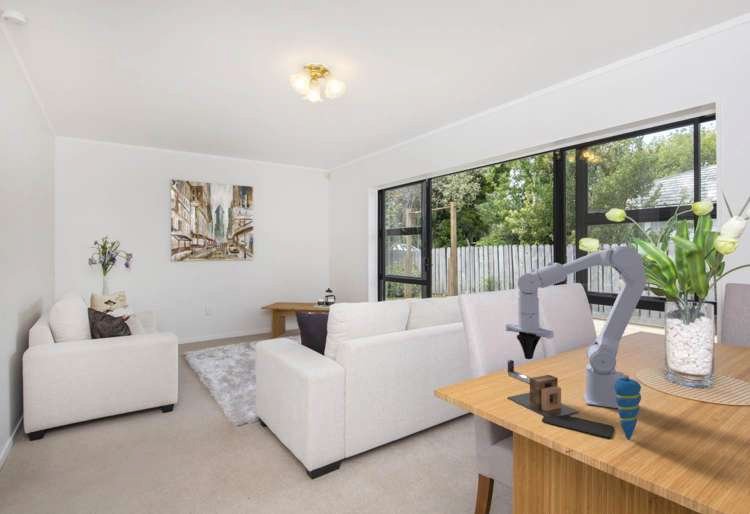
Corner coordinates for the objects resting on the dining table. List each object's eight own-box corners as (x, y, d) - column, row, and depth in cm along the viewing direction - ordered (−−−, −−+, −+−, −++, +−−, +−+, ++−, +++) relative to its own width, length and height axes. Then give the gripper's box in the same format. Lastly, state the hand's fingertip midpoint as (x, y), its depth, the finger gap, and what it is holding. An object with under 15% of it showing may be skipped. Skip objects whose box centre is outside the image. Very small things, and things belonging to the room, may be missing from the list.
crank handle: (544, 388, 107) (544, 371, 107) (539, 389, 106) (539, 372, 106) (511, 375, 119) (511, 359, 119) (506, 376, 118) (506, 360, 118)
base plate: (579, 412, 102) (579, 411, 102) (551, 419, 98) (551, 418, 98) (533, 393, 116) (533, 391, 116) (507, 398, 112) (507, 397, 112)
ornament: (645, 445, 85) (646, 377, 85) (619, 443, 86) (619, 375, 86) (634, 434, 90) (635, 369, 90) (610, 432, 91) (610, 368, 91)
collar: (561, 407, 104) (561, 387, 104) (546, 411, 102) (546, 390, 102) (556, 405, 106) (556, 385, 106) (541, 408, 104) (541, 388, 103)
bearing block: (557, 404, 106) (557, 377, 106) (538, 409, 103) (538, 381, 103) (548, 400, 109) (548, 374, 109) (529, 405, 106) (529, 378, 106)
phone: (548, 410, 102) (614, 425, 93) (548, 413, 102) (614, 429, 93) (540, 420, 97) (610, 437, 87) (540, 424, 97) (610, 441, 87)
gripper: (559, 314, 113) (559, 361, 113) (514, 309, 124) (515, 351, 125) (545, 317, 109) (546, 365, 109) (501, 311, 120) (501, 355, 120)
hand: (528, 358), depth 116 cm, fingers closed
